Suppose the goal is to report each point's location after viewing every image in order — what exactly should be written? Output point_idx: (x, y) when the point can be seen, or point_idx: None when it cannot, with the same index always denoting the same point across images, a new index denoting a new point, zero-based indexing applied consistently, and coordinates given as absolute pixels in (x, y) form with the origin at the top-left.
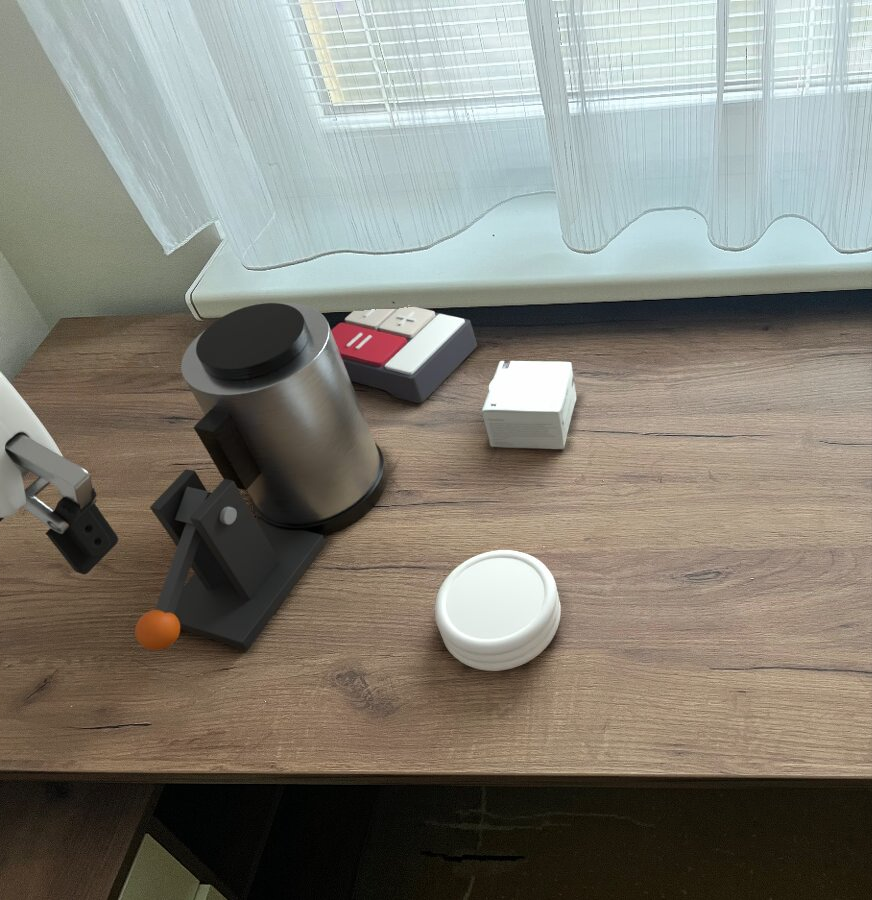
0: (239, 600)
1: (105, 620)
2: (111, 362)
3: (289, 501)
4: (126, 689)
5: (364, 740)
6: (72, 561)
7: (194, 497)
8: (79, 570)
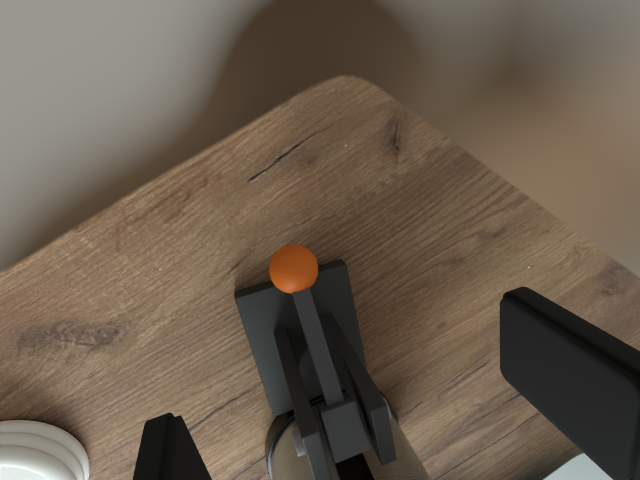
0: (283, 325)
1: (400, 225)
2: None
3: None
4: (310, 191)
5: (13, 305)
6: (138, 469)
7: (348, 444)
8: (145, 433)
